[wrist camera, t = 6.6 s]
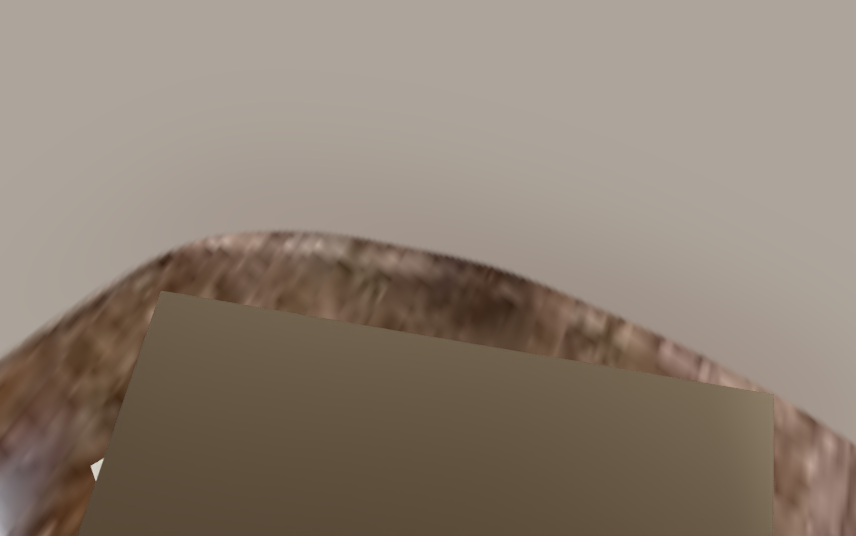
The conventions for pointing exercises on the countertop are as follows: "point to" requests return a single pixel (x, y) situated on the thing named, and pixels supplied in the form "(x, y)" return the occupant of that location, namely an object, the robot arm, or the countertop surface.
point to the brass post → (415, 438)
